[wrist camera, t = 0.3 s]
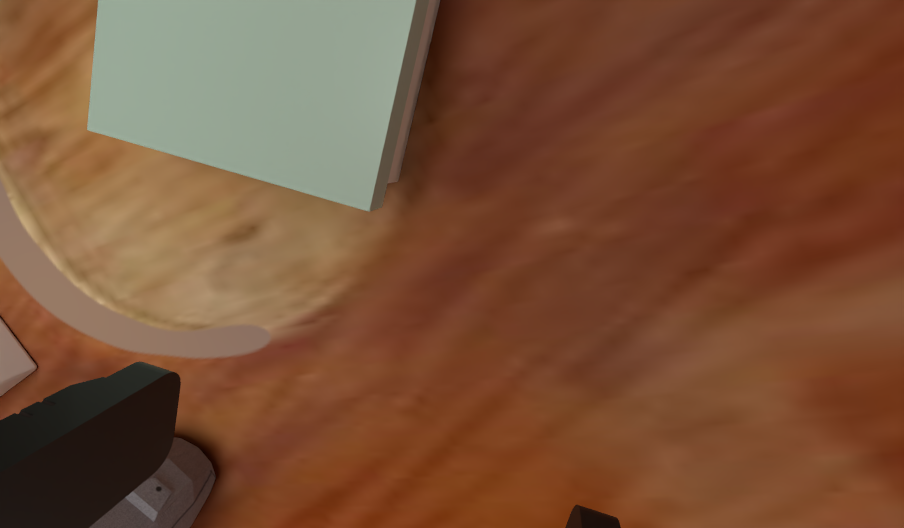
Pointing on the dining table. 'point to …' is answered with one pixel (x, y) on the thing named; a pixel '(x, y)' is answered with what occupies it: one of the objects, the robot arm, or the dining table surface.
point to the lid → (262, 86)
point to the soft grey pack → (166, 493)
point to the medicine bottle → (12, 360)
